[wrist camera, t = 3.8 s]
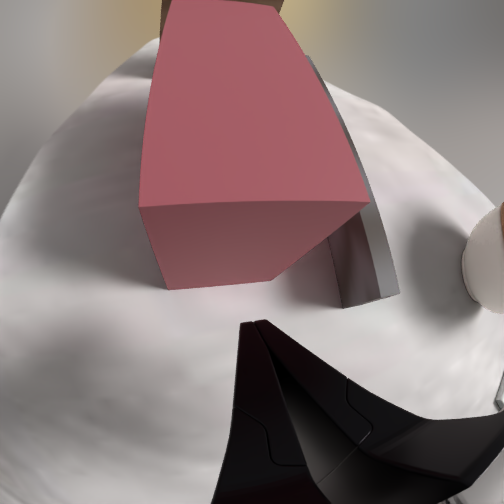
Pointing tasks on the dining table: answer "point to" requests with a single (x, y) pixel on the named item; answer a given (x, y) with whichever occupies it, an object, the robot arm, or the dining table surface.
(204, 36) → the pink rectangular block
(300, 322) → the dining table surface
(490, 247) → the lidded jar
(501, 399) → the external hard drive
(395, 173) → the dining table surface
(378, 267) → the bookend
